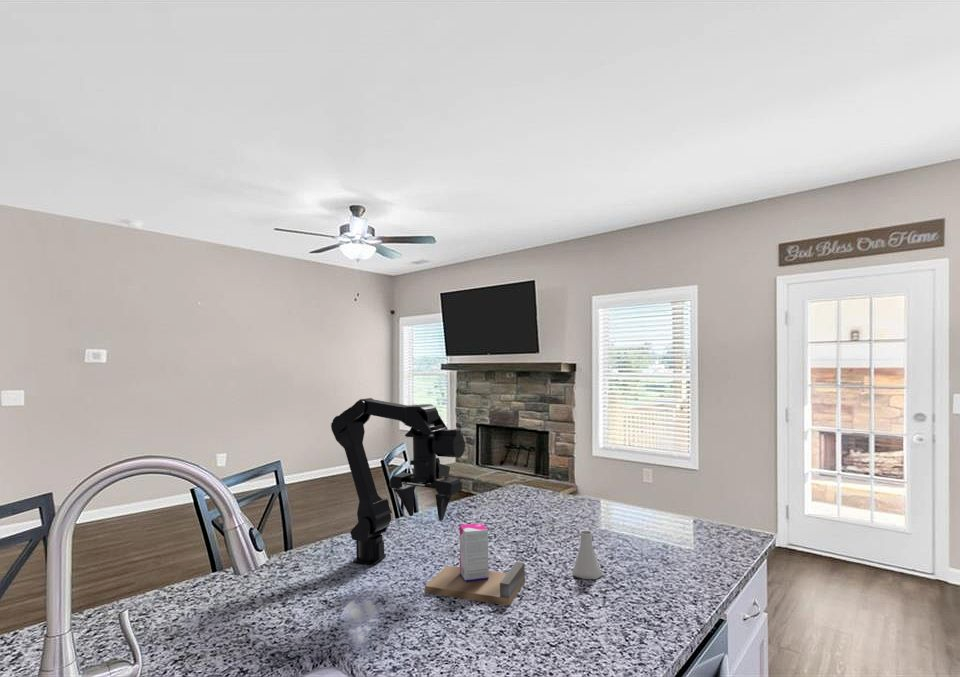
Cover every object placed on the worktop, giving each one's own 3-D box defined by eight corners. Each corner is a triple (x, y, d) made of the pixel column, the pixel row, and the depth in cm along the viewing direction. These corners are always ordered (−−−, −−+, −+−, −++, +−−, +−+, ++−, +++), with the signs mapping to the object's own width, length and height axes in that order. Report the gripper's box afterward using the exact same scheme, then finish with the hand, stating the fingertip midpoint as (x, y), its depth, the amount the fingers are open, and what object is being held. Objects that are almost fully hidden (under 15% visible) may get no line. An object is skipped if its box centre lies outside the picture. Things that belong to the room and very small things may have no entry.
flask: (605, 570, 126) (604, 529, 127) (599, 582, 120) (597, 538, 120) (576, 566, 129) (575, 525, 130) (568, 577, 123) (567, 535, 123)
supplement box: (489, 579, 119) (488, 529, 120) (464, 583, 118) (463, 532, 118) (483, 569, 125) (481, 521, 125) (459, 573, 123) (458, 524, 124)
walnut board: (424, 592, 117) (424, 572, 117) (447, 571, 128) (446, 553, 128) (509, 605, 110) (508, 584, 110) (525, 582, 121) (524, 562, 121)
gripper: (472, 452, 132) (474, 514, 132) (414, 447, 142) (415, 505, 141) (448, 460, 123) (450, 526, 122) (387, 454, 132) (389, 516, 131)
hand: (426, 518), depth 129 cm, fingers open, 9 cm apart
